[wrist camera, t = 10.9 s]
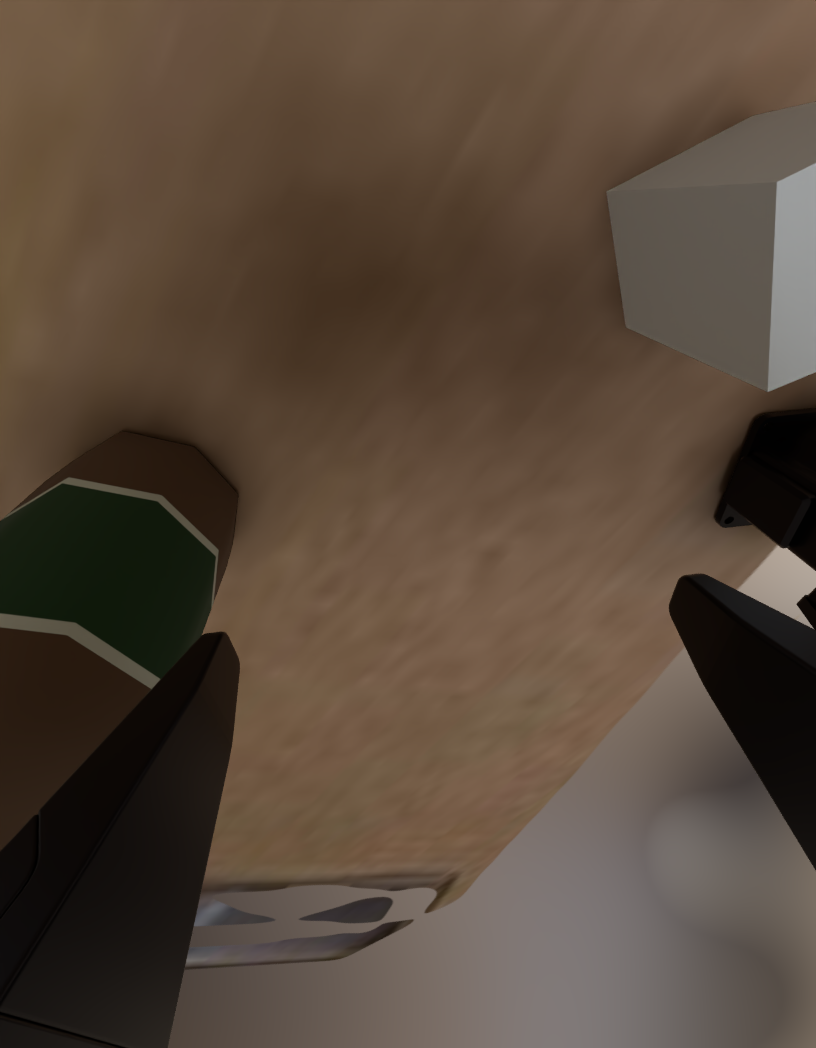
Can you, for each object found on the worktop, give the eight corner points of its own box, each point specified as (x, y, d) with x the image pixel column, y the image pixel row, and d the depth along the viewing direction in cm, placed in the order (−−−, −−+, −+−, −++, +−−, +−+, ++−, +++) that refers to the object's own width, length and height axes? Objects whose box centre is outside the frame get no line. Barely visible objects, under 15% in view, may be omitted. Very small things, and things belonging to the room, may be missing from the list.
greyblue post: (752, 115, 15) (1050, 48, 9) (749, 269, 18) (973, 306, 11) (606, 191, 16) (777, 181, 9) (625, 327, 19) (767, 392, 12)
